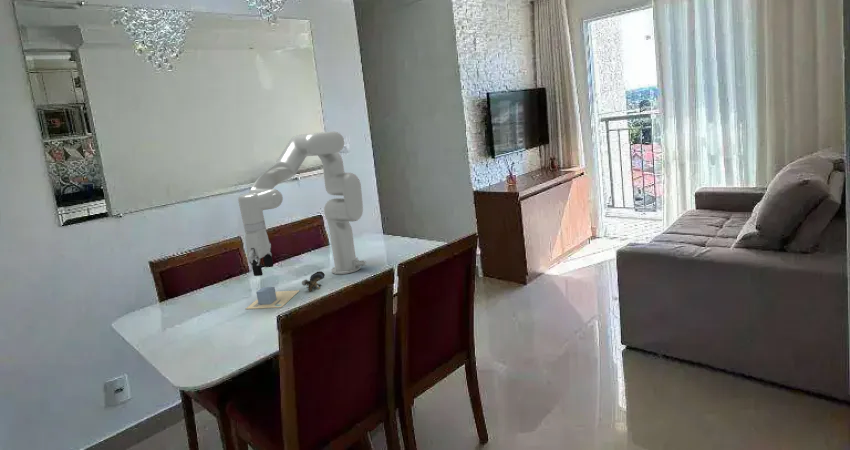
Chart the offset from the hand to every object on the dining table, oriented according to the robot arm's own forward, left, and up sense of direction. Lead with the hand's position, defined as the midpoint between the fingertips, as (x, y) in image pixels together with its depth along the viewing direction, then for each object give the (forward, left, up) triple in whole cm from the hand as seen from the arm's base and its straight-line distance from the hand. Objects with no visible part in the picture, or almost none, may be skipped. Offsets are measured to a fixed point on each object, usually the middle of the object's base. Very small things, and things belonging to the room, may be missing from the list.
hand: (264, 271), depth 204 cm
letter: (-1, -2, -12) cm, 12 cm away
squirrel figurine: (-14, -13, -13) cm, 23 cm away
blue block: (0, +1, -12) cm, 12 cm away
